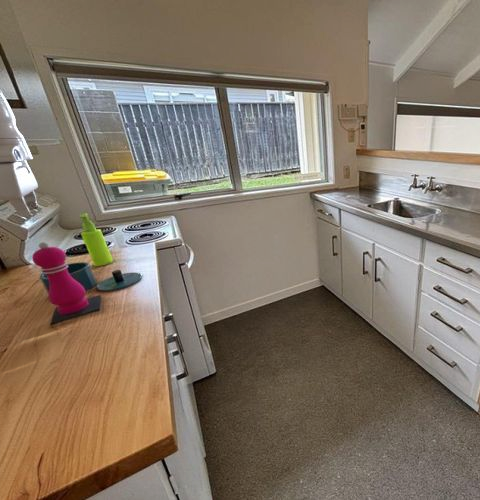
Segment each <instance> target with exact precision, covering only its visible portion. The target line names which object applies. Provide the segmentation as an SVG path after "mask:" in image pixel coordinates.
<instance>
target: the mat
mask: <svg viewBox="0 0 480 500" xmlns="http://www.w3.org/2000/svg"><path fill="white" fill-rule="evenodd" d="M86 298H87V300H88V303H89V305H88V306H87V307H86V308H84V309H82V310H80V311H78V312H75V313H72V314H66V315H62V314H60V313H59V311H58V309H57V307H58V306H56V307H55V308H54V311H53V314H52V317H51V320H50V322H49V324H50V326H52V325H55V324H59V323H62V322H67V321H68V320H72V319H76V318H79V317H82V316H85V315H88V314H92V313H95V312H99V311H101V299H102V295H101V294H98V295H94V296H91V297H86Z"/></svg>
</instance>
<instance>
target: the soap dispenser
mask: <svg viewBox="0 0 480 500" xmlns="http://www.w3.org/2000/svg"><path fill="white" fill-rule="evenodd" d="M79 218H80V219H81V220H82V223H81V227H82V230H83V231H82V232H80V236H81V238H82V241H83V243H84V244H85V247H86V250H87V252H88V254H89V256H90V259H91V261H92V263H93V265H94V267H100V266H101V267H102V266H105V265H108V264H111V263H112V262H114V259H113V256H112V254H111V252H110V249H109V246H108V244H107V242H106V239H105V237H104V234H103V232H102V229H100V228H96V225H95V223H94V221H92V220H90V218H89V214H88V213H80V214H79Z"/></svg>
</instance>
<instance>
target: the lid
mask: <svg viewBox="0 0 480 500" xmlns="http://www.w3.org/2000/svg"><path fill="white" fill-rule="evenodd" d="M111 275H112V276H109V277H108V278H106V279H103V280H102V281H101V282H99V283H97V285H96V289H97V291H99V292H114V291H118V290H122V289H125V288H128V287H132V286H133V285H135V284H137V283H138V282H140V281H141V280H142V278H143V276H142V274H141V273H140V272H126V273H122V270H121V269H116V270H113V271H111Z"/></svg>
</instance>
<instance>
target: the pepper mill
mask: <svg viewBox="0 0 480 500" xmlns="http://www.w3.org/2000/svg"><path fill="white" fill-rule="evenodd" d="M38 247H39V249H37V250H36V251H35V252H33V254H32V257H31V258H32V261H33V263H34V264H35V265H36V266H38V267H41V268H40V271H41V274H42V273H43V274H46V276H47V277H48V280H49V283H50V288H49V295H48V300H49V302H50V303H51V304H53V305H55V306H56V307H57V309H58V311H59V313H60V314H62V315H66V314H72V313H75V312H78V311H80V310H82V309H84V308H86V307H87V306H88V305H89V303H88V300H87V298H88V297H85V296H86V293H87V291H85V289H84V287H83V286H82V285H81V284H80V283H78V282H77V281H76V280H75V279H73V278H72V277H71V276H70V274H69V272H68V270H67V268H68V265H67V264H68V263H67V262H66V261H65V260H66V258H67V255H66V252H65V251H64V250H63V249H62V248H60V247H57V246H50V245H49V243H48V242H45V241H43V242H40V243H39V244H38Z"/></svg>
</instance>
